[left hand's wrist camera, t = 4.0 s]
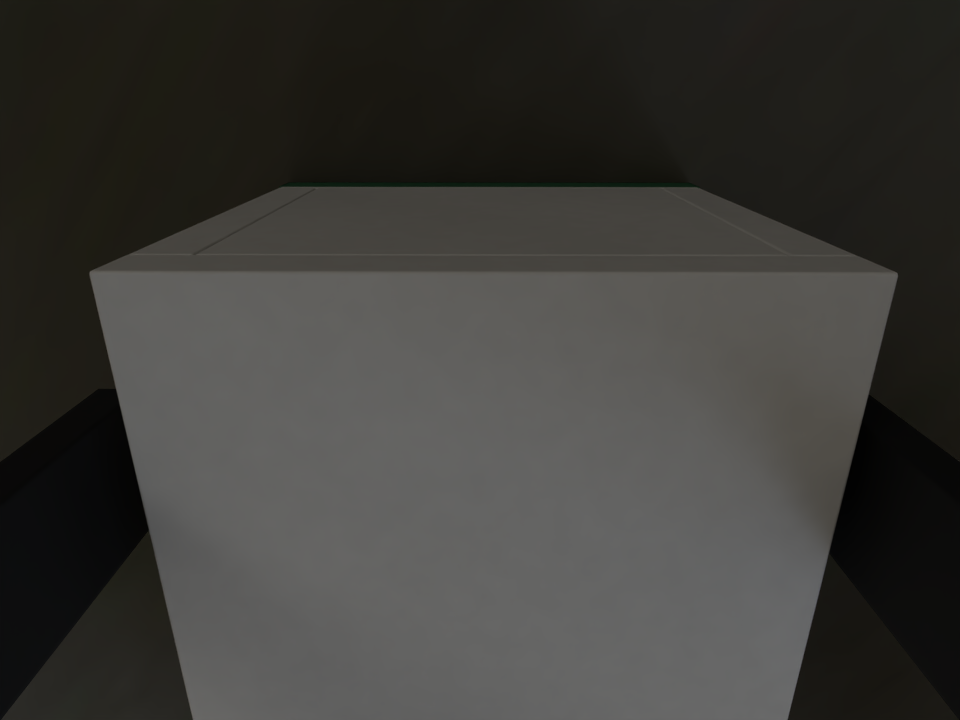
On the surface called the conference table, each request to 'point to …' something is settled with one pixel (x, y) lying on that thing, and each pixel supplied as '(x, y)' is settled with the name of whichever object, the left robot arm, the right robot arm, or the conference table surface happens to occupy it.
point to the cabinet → (491, 447)
